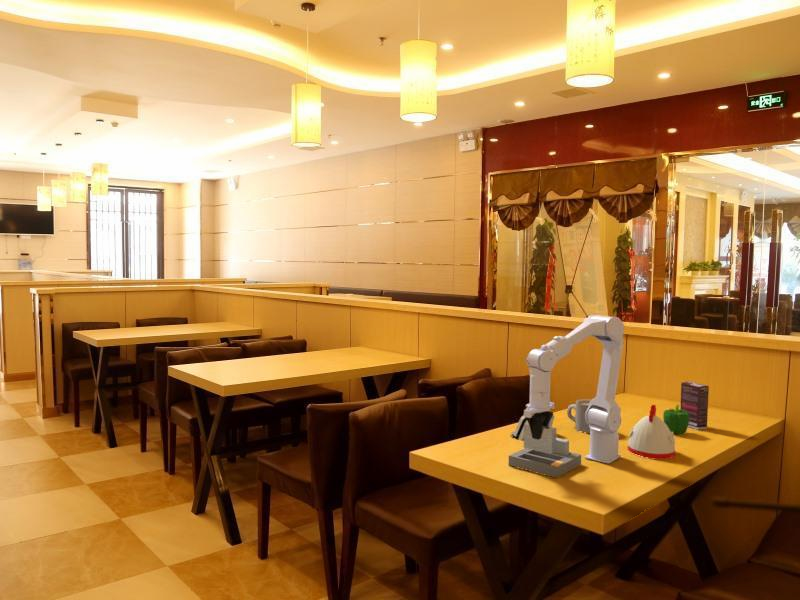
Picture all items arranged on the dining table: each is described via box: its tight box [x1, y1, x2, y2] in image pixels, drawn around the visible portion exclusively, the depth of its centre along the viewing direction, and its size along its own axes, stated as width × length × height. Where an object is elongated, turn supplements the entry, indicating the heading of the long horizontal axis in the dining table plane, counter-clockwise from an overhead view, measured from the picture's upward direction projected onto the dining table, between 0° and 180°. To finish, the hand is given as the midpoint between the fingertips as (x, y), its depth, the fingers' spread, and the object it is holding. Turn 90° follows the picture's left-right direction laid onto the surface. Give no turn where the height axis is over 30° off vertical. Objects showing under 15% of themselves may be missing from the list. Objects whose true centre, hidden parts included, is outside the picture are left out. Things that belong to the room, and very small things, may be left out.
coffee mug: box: [566, 398, 603, 434], centre depth 223 cm, size 13×10×10 cm
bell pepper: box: [662, 403, 689, 435], centre depth 218 cm, size 8×8×10 cm
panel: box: [523, 423, 557, 454], centre depth 179 cm, size 2×9×7 cm, turn 49°
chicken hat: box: [627, 404, 676, 460], centre depth 197 cm, size 14×14×15 cm
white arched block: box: [509, 414, 555, 441], centre depth 215 cm, size 17×5×10 cm, turn 131°
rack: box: [508, 437, 582, 479], centre depth 183 cm, size 16×16×7 cm
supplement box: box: [679, 381, 710, 431], centre depth 227 cm, size 9×5×16 cm, turn 22°
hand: (538, 437), depth 179 cm, fingers closed on panel, 2 cm apart
